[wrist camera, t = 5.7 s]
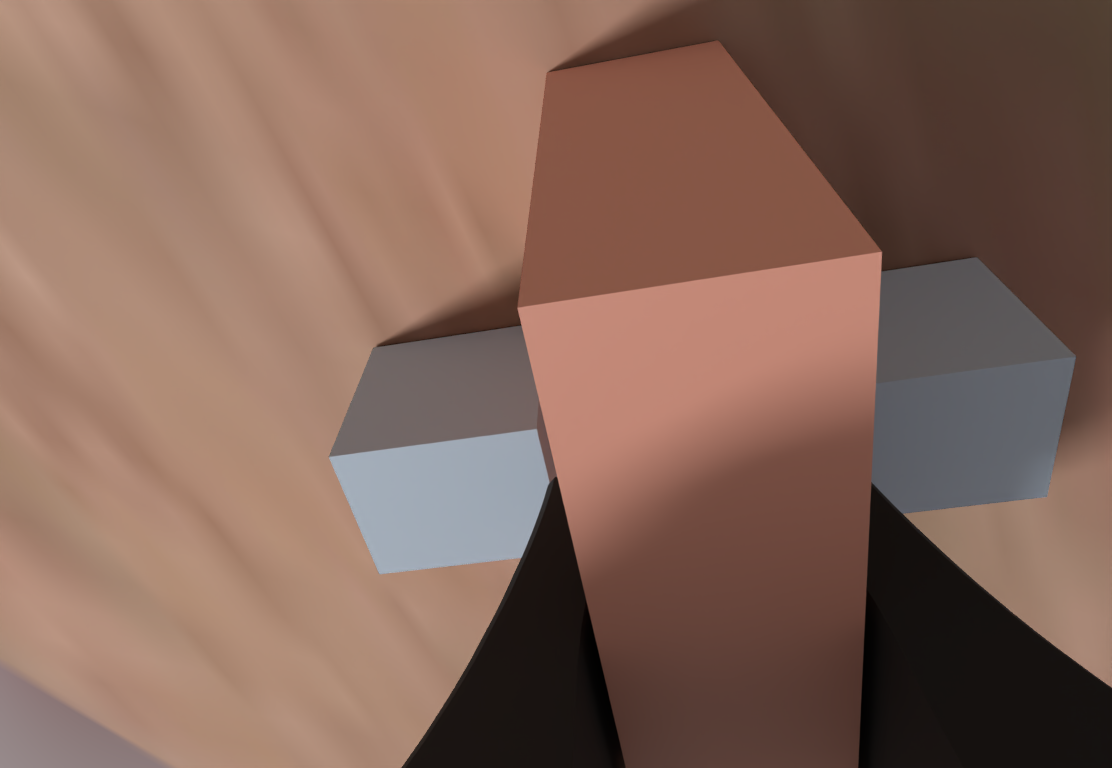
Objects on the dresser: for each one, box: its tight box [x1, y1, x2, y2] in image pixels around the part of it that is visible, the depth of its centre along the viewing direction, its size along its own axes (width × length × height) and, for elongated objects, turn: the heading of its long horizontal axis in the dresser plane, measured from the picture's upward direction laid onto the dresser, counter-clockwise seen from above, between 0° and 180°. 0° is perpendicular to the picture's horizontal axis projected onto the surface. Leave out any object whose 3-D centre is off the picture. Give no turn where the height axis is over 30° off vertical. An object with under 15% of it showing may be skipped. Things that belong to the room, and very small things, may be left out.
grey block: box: [329, 257, 1076, 574], centre depth 13 cm, size 10×2×3 cm, turn 100°
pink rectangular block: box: [517, 41, 882, 768], centre depth 11 cm, size 2×10×7 cm, turn 11°
